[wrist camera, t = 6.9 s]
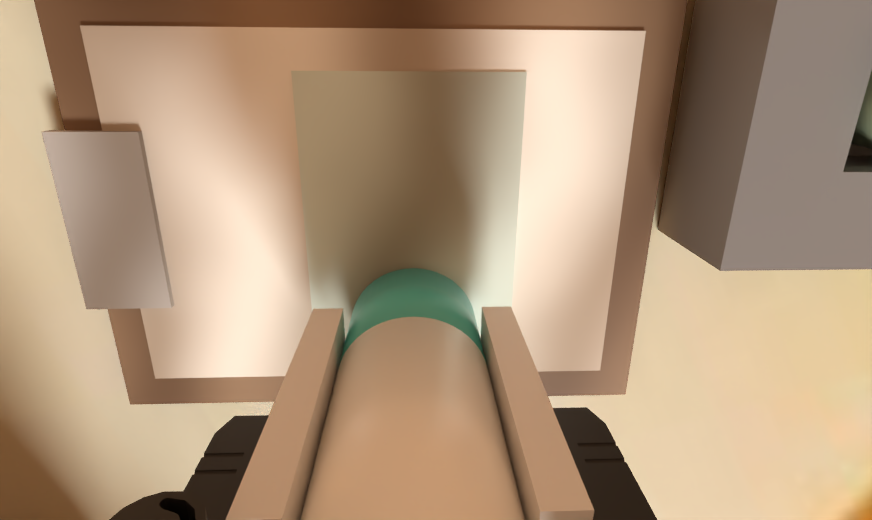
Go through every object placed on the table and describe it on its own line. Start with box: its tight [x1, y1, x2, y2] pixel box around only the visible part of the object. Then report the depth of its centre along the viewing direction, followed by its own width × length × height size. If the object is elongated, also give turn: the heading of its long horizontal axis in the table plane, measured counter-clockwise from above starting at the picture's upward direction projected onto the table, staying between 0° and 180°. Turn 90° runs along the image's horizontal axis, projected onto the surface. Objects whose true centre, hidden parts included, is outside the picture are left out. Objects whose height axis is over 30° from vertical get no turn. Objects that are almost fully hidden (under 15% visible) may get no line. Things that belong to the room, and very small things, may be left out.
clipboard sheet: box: [34, 0, 687, 404], centre depth 15 cm, size 16×12×1 cm
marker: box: [300, 268, 525, 520], centre depth 9 cm, size 4×4×12 cm
